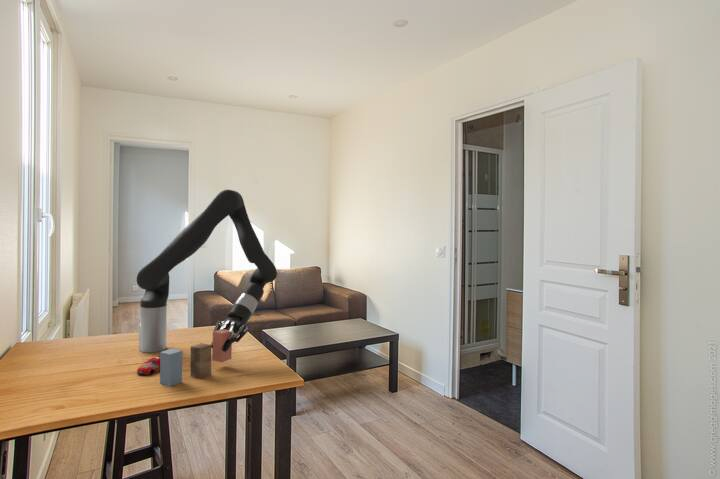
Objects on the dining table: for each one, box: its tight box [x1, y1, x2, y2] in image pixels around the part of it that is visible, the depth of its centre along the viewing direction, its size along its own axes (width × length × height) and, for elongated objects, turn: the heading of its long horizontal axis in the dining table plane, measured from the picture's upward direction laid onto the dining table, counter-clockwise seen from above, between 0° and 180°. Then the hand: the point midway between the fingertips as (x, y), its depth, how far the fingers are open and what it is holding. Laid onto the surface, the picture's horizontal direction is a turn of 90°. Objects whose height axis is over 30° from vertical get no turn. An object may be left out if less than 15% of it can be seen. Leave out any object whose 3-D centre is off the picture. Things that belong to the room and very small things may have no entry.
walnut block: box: [189, 342, 212, 380], centre depth 139 cm, size 4×4×10 cm
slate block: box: [159, 348, 183, 387], centre depth 132 cm, size 4×4×10 cm
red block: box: [211, 329, 233, 363], centre depth 147 cm, size 4×4×10 cm
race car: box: [136, 355, 160, 376], centre depth 144 cm, size 13×5×4 cm, turn 165°
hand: (218, 349), depth 146 cm, fingers closed on red block, 4 cm apart
